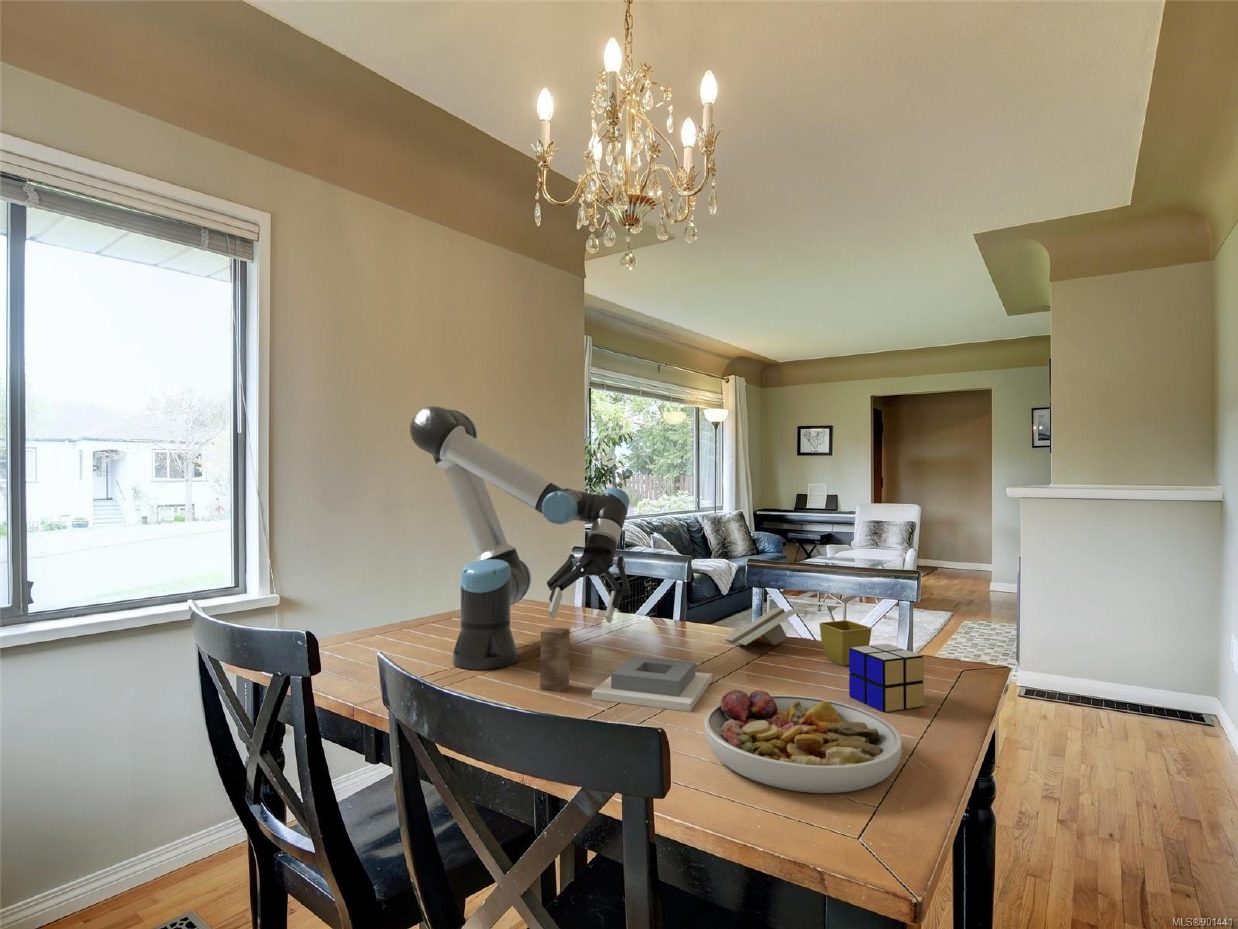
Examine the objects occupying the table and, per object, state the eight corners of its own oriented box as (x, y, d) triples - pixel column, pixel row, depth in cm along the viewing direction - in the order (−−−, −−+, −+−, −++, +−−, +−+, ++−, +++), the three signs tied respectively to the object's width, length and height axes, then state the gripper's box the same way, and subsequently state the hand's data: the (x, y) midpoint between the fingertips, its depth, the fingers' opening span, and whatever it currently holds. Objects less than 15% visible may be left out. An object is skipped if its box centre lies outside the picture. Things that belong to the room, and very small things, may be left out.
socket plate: (591, 699, 131) (591, 676, 131) (625, 671, 150) (625, 651, 150) (690, 711, 124) (690, 687, 124) (711, 680, 143) (711, 660, 143)
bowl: (928, 754, 106) (928, 705, 106) (854, 828, 84) (854, 766, 84) (763, 710, 126) (763, 668, 126) (667, 760, 104) (667, 709, 104)
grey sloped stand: (771, 675, 163) (817, 627, 166) (744, 645, 163) (790, 597, 167) (747, 665, 181) (789, 622, 184) (723, 638, 181) (765, 596, 185)
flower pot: (872, 666, 155) (872, 627, 155) (843, 669, 152) (843, 630, 152) (847, 656, 163) (847, 619, 163) (818, 660, 160) (818, 622, 160)
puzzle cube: (848, 697, 133) (847, 647, 134) (887, 691, 137) (887, 643, 137) (884, 713, 124) (883, 660, 124) (925, 707, 127) (925, 655, 128)
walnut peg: (540, 689, 137) (540, 631, 137) (549, 683, 141) (550, 626, 141) (560, 692, 135) (560, 633, 136) (569, 685, 140) (569, 628, 140)
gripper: (654, 553, 159) (636, 630, 145) (560, 549, 168) (534, 622, 153) (648, 533, 154) (628, 611, 140) (551, 531, 162) (523, 604, 148)
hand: (579, 617), depth 147 cm, fingers open, 13 cm apart
